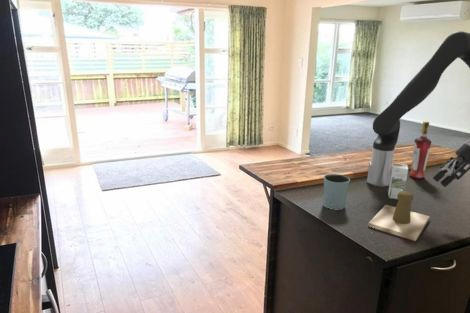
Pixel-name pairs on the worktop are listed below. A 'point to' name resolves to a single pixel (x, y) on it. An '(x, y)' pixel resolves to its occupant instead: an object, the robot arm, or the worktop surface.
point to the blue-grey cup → (335, 190)
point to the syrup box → (397, 180)
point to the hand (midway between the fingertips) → (438, 182)
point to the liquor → (420, 153)
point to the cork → (403, 207)
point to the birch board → (388, 225)
